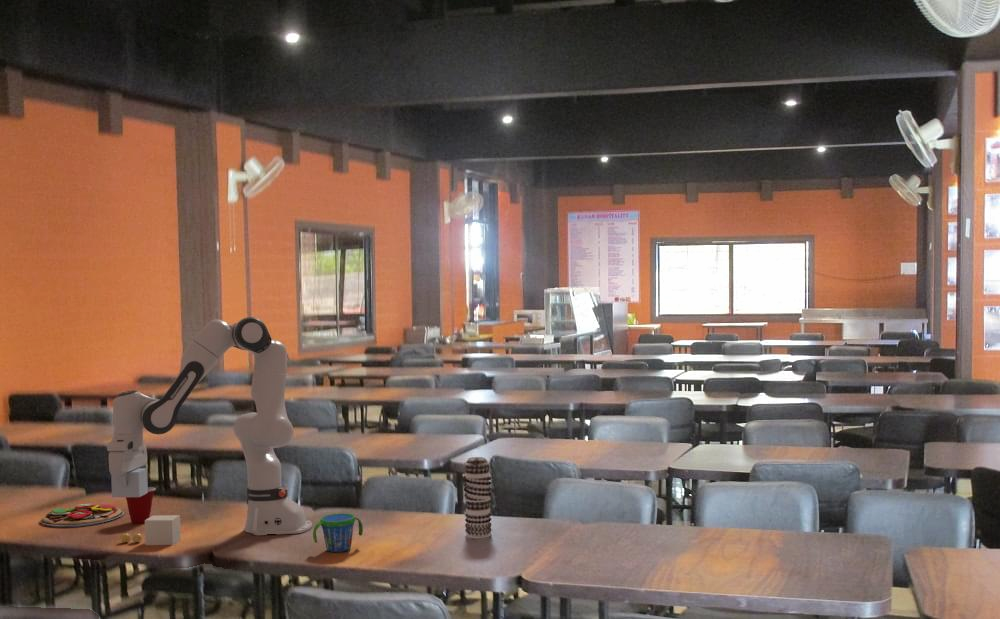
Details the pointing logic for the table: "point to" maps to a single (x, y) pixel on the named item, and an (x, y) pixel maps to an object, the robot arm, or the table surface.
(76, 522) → the toy pizza
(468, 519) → the decorative candle
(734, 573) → the table surface
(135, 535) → the amber marble
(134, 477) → the white block
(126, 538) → the amber marble
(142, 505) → the plastic cup
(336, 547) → the snack cup
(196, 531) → the table surface
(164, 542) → the grey cuboid box
